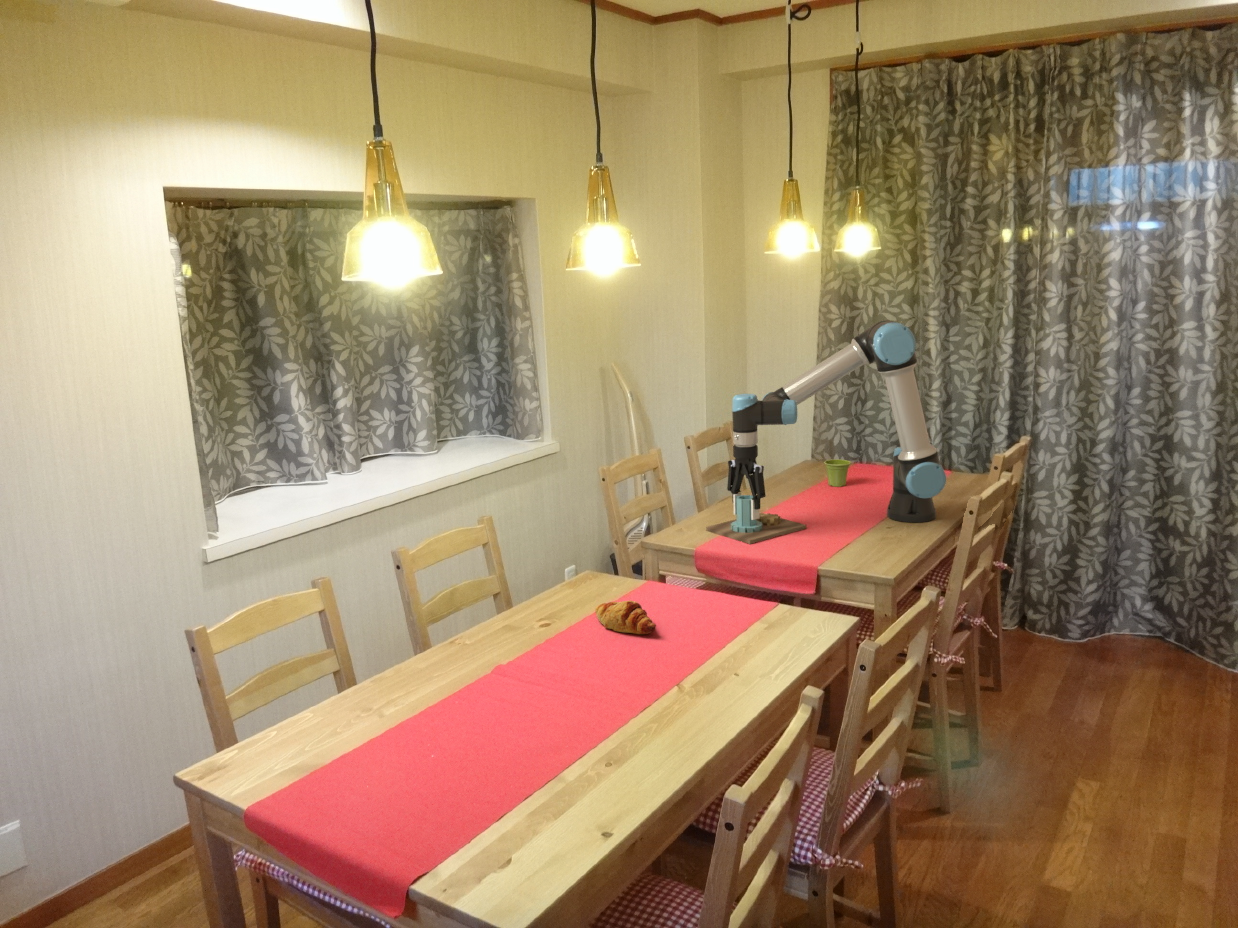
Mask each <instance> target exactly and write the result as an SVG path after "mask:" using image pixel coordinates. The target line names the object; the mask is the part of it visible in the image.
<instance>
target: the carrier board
mask: <svg viewBox="0 0 1238 928" xmlns="http://www.w3.org/2000/svg"><path fill="white" fill-rule="evenodd" d="M756 520H757V521H760V522H762V525H763V528H762V530H760V531H758V532H753V533H747V532H745V533H741V532H736V531H733V530H732V529H731V523H732V522H734V521H737V518H736V519H732V520H728V521H725V522H720V523H715V524H713V525H709V526H706V527H705V529H706V532H710V533H713V534H715V535H720V536H722V537H726V538H728V537H729V539H732V540H736V541H738V542H741V541H742V543H744V542H745V543H744V544H747V543H748V544H749V545H753V544H756V543H759V542H758V541H760V542H762V540H763V541H766V539H767V540H769V538H770V539H773V538H772V537H774V538H776V537H775V536H778V537H780V536H779V535H781V536H784V534H785V535H787V534H791V533H795V531H796V532H800V531H801V530H805V529H806V530H807V524H804V523H800V522H797V521H793V520H789V519H785V518H782V517H781V516H780V515H779V514H777V513H774V514H773V513H769V512H768V513H765V512H759V519H756ZM755 542H756V543H755Z"/></svg>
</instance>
